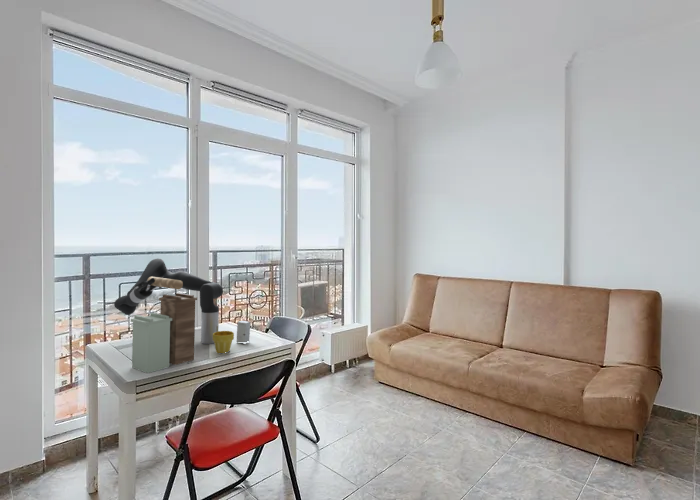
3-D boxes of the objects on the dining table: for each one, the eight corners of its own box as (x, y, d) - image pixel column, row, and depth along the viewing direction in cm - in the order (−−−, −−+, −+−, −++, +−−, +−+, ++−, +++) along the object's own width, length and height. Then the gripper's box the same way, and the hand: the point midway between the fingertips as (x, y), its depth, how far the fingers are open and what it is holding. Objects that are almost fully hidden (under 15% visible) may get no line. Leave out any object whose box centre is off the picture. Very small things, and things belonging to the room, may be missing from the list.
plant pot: (227, 355, 192) (227, 336, 191) (208, 353, 194) (208, 334, 193) (236, 349, 202) (237, 331, 202) (218, 348, 204) (219, 330, 203)
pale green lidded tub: (129, 368, 169) (130, 316, 169) (155, 361, 179) (156, 312, 179) (145, 373, 163) (146, 319, 162) (171, 366, 173) (172, 315, 173)
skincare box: (236, 343, 214) (236, 321, 214) (241, 341, 219) (241, 320, 218) (245, 344, 212) (245, 323, 212) (250, 342, 216) (250, 321, 216)
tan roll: (147, 285, 191) (147, 276, 191) (155, 284, 194) (155, 276, 194) (174, 289, 179) (174, 280, 179) (182, 288, 183) (183, 279, 183)
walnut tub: (157, 360, 180) (158, 295, 180) (180, 354, 191) (181, 292, 190) (173, 365, 174) (174, 297, 173) (195, 359, 184) (197, 294, 184)
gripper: (125, 287, 192) (142, 273, 184) (152, 285, 204) (169, 271, 196) (128, 301, 190) (146, 287, 182) (156, 298, 203) (173, 284, 195)
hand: (158, 279), depth 190 cm, fingers closed on tan roll, 4 cm apart
